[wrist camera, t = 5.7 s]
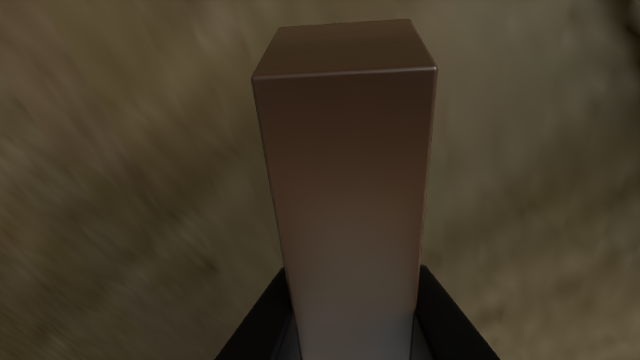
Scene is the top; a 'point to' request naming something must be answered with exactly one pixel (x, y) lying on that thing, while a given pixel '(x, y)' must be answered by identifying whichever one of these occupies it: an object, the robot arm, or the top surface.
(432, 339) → the robot arm
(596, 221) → the top surface
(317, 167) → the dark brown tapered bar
